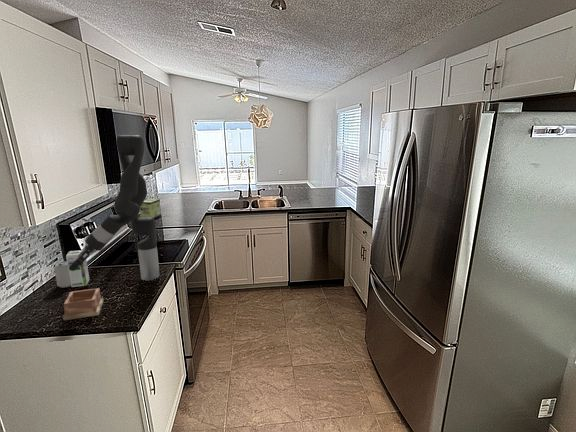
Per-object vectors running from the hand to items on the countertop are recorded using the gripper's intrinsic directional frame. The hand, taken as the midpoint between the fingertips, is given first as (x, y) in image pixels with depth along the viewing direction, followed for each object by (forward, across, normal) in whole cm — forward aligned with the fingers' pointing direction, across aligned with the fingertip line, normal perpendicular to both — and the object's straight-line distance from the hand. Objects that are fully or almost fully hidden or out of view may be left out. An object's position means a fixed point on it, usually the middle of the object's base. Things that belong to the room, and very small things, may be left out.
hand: (73, 266), depth 141 cm
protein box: (-1, -154, +32) cm, 158 cm away
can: (+24, -30, +6) cm, 39 cm away
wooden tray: (+14, 0, +16) cm, 21 cm away
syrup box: (+5, 0, +7) cm, 9 cm away
